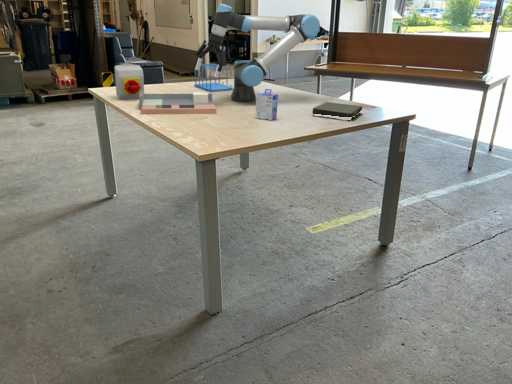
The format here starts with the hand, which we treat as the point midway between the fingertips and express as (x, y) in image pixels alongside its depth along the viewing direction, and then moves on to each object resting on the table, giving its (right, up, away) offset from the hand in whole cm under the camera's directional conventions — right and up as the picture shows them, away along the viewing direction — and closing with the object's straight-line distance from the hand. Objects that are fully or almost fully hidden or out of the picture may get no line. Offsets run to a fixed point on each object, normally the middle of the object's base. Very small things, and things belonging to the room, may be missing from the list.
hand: (206, 73), depth 238 cm
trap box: (-15, -20, -3) cm, 25 cm away
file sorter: (-2, +6, +61) cm, 61 cm away
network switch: (+71, -25, -8) cm, 75 cm away
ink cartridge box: (+32, -29, -20) cm, 48 cm away
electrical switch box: (-47, -11, +18) cm, 51 cm away
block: (-4, -15, +3) cm, 15 cm away
